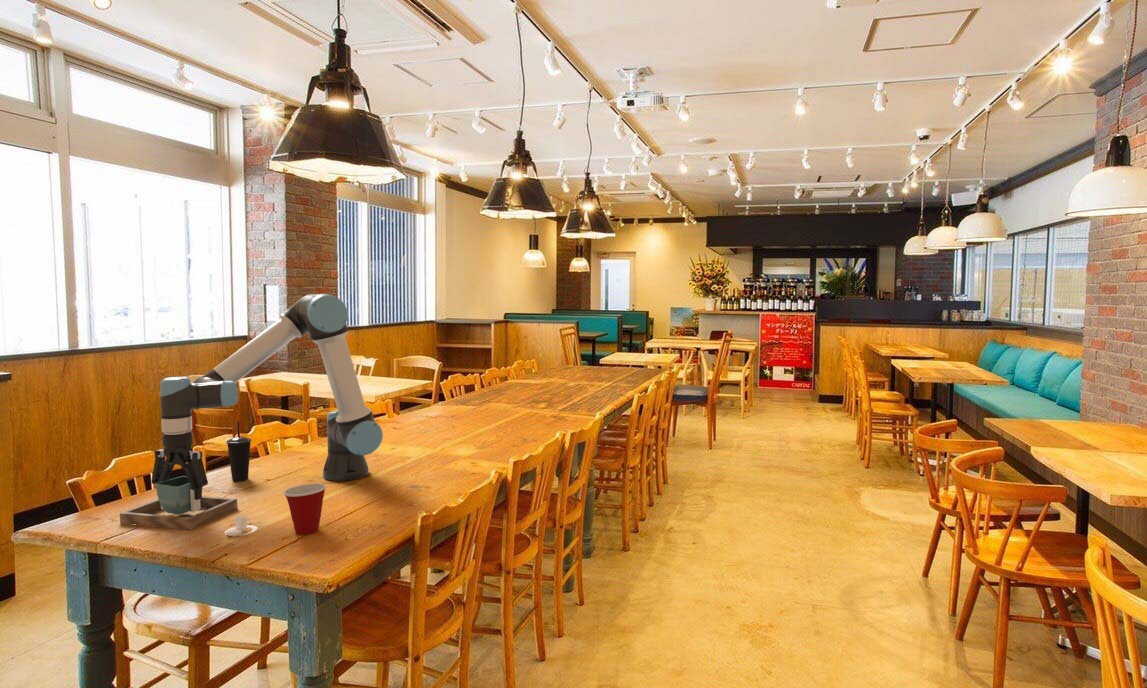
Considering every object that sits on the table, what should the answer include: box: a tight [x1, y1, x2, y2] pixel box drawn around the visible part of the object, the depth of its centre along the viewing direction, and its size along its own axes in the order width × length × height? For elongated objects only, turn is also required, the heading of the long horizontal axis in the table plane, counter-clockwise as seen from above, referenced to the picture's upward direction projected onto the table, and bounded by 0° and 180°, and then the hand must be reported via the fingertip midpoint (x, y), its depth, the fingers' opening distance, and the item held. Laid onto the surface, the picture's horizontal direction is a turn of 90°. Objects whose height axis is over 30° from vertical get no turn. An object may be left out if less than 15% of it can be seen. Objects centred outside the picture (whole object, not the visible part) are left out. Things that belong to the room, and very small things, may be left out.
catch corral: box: [119, 495, 238, 531], centre depth 193 cm, size 22×18×3 cm
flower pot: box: [154, 475, 204, 516], centre depth 192 cm, size 9×9×9 cm
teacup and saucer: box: [224, 515, 259, 537], centre depth 181 cm, size 9×8×4 cm
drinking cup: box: [226, 421, 252, 483], centre depth 229 cm, size 8×8×20 cm
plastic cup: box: [283, 482, 327, 536], centre depth 181 cm, size 11×11×12 cm
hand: (180, 509), depth 193 cm, fingers open, 9 cm apart
